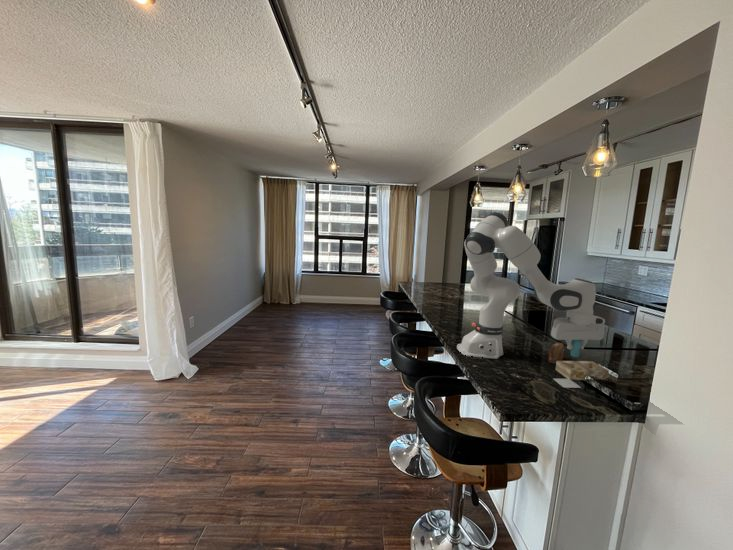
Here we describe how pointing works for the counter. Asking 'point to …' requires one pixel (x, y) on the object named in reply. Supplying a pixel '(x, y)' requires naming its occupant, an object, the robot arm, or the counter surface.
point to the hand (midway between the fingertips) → (575, 349)
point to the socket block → (580, 369)
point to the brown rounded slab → (556, 352)
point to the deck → (567, 383)
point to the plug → (575, 348)
